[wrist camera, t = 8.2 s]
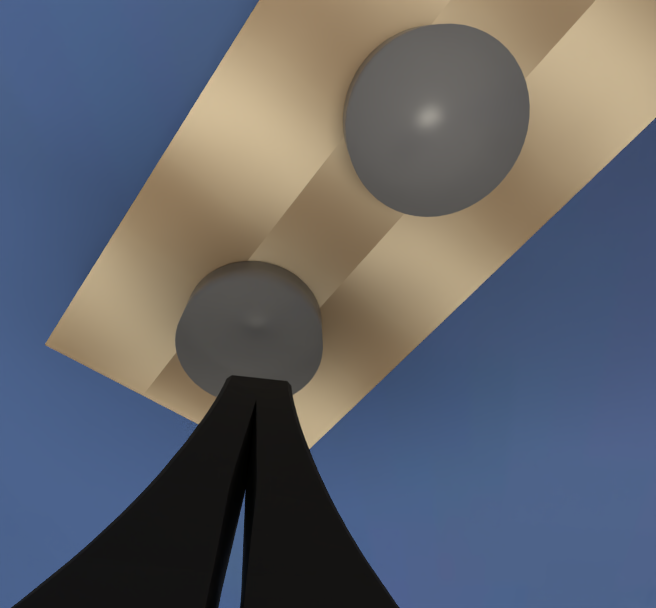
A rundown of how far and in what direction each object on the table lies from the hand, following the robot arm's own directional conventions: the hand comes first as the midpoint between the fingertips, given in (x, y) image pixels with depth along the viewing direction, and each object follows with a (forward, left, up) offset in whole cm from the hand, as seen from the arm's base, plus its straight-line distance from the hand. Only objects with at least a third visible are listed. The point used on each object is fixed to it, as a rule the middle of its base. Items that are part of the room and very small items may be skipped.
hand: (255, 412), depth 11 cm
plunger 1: (0, +1, -10) cm, 10 cm away
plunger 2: (0, -7, -10) cm, 12 cm away
